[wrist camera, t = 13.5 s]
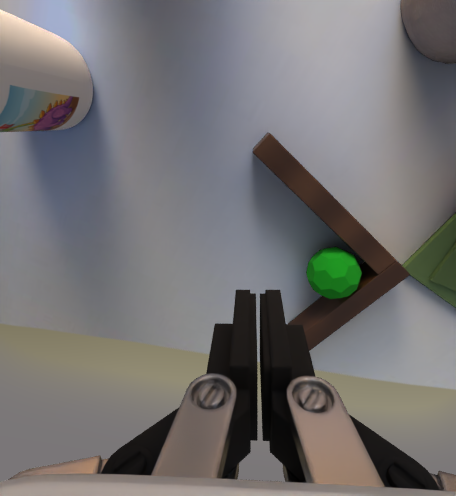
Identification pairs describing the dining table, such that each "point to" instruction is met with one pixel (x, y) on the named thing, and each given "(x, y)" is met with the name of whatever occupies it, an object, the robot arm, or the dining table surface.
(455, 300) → the green rag
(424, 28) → the pillar candle
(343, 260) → the polyhedron
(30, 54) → the milk bottle
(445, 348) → the dining table surface
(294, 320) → the corner stop
